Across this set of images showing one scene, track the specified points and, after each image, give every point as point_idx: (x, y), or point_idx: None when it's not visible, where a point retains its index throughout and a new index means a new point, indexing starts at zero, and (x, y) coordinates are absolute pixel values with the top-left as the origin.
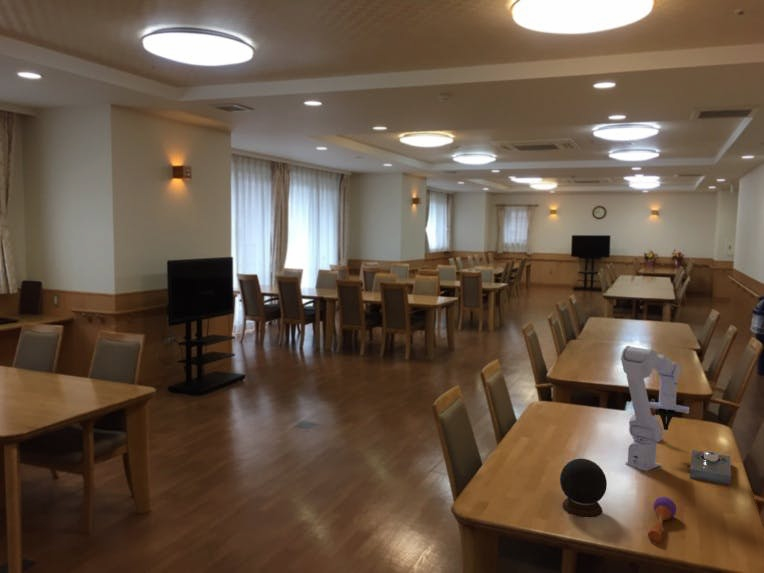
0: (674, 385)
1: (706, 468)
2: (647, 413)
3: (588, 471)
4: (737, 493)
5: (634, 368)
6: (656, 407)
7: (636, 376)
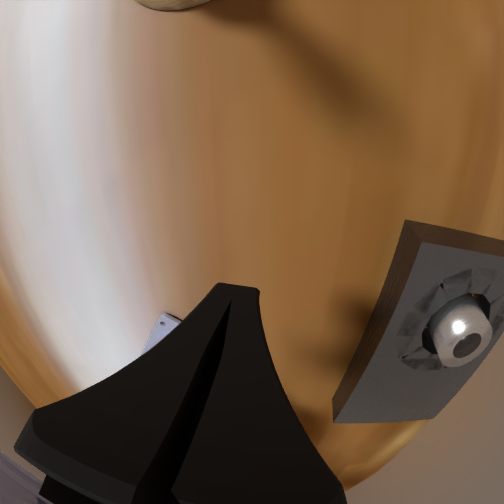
0: None
1: (390, 407)
2: None
3: None
4: (416, 420)
5: None
6: (34, 492)
7: None
